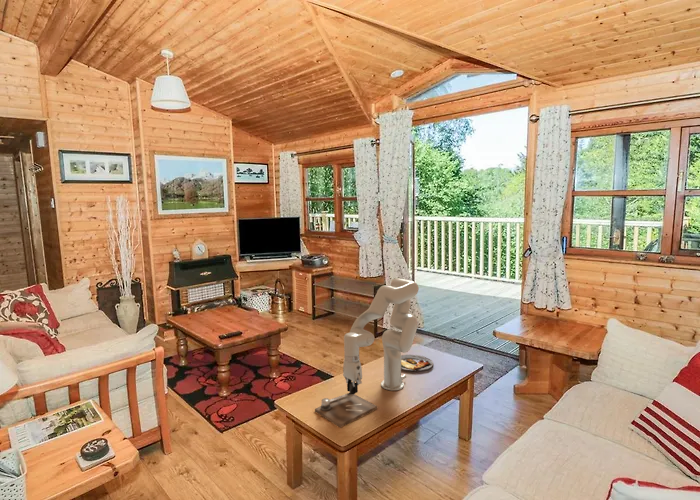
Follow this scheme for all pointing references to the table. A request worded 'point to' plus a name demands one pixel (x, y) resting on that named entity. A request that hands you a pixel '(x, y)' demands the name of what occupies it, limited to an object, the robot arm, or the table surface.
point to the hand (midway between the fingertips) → (352, 391)
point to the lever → (337, 398)
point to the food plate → (415, 363)
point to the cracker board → (346, 410)
